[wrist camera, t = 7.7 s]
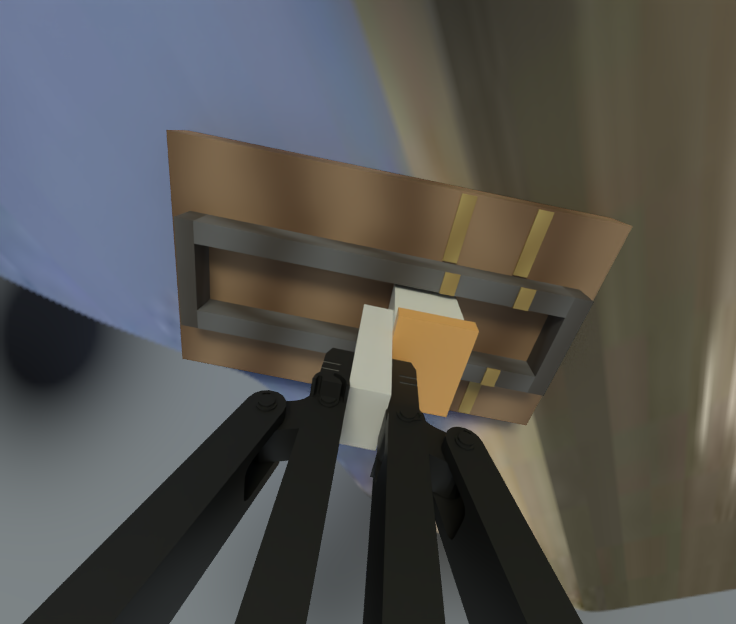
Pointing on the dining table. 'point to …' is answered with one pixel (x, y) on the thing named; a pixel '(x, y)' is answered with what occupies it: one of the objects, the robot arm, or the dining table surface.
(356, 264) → the wooden tray
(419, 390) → the fader knob
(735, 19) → the dining table surface
